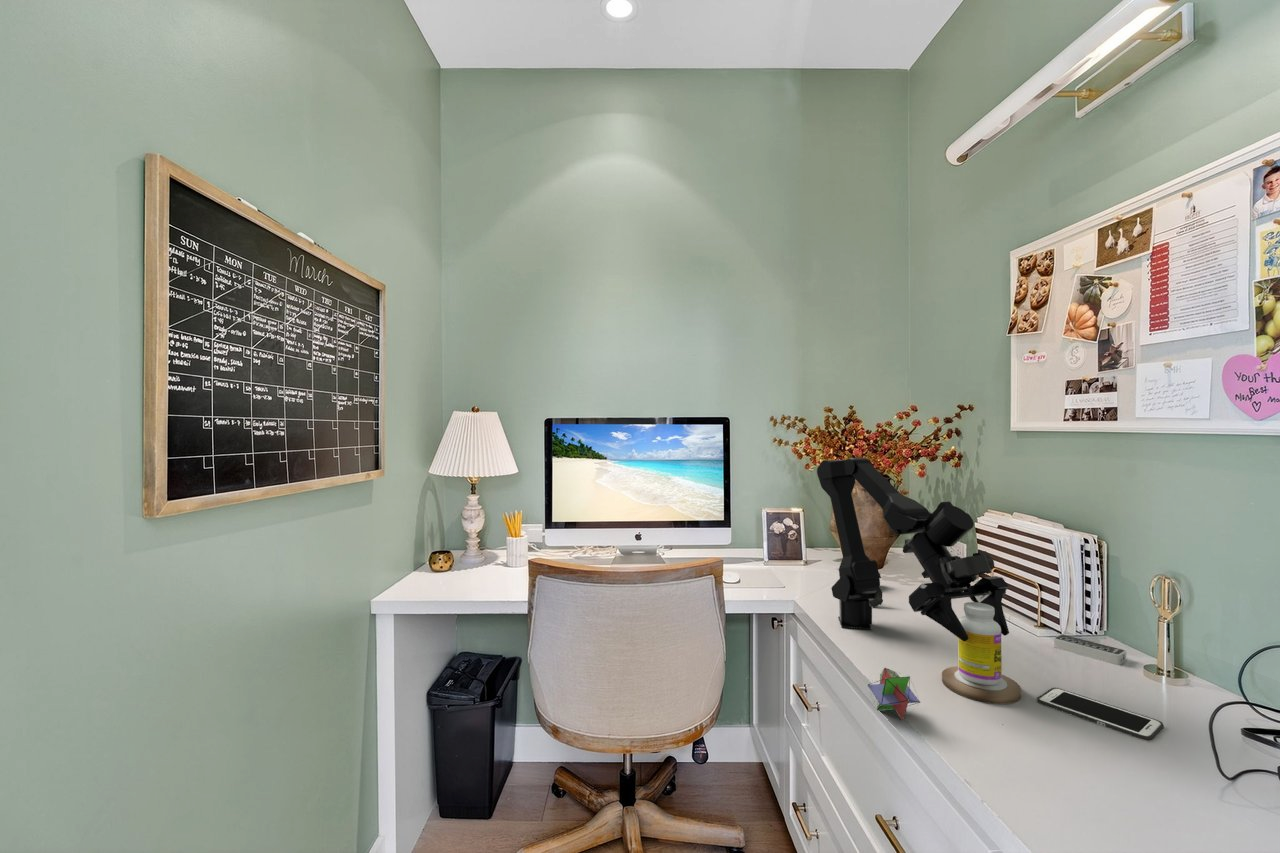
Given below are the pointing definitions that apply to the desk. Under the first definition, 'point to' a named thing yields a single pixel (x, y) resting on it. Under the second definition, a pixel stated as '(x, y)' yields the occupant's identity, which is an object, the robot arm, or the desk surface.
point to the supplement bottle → (980, 645)
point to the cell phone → (1102, 713)
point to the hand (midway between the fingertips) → (987, 637)
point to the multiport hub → (1090, 649)
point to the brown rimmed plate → (982, 688)
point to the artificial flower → (878, 599)
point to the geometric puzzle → (893, 692)
